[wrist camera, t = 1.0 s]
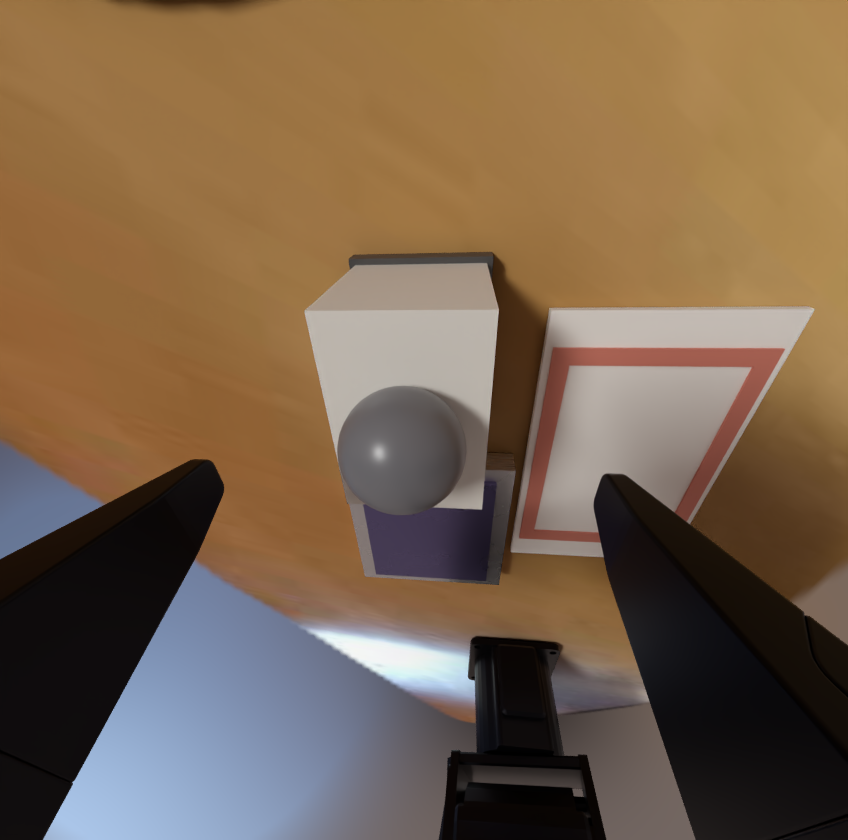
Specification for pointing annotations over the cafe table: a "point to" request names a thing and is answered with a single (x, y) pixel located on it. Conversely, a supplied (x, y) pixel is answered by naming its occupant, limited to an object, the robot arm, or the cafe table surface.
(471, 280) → the stamp
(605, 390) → the sheet
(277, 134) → the cafe table surface
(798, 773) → the robot arm
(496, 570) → the ink pad
